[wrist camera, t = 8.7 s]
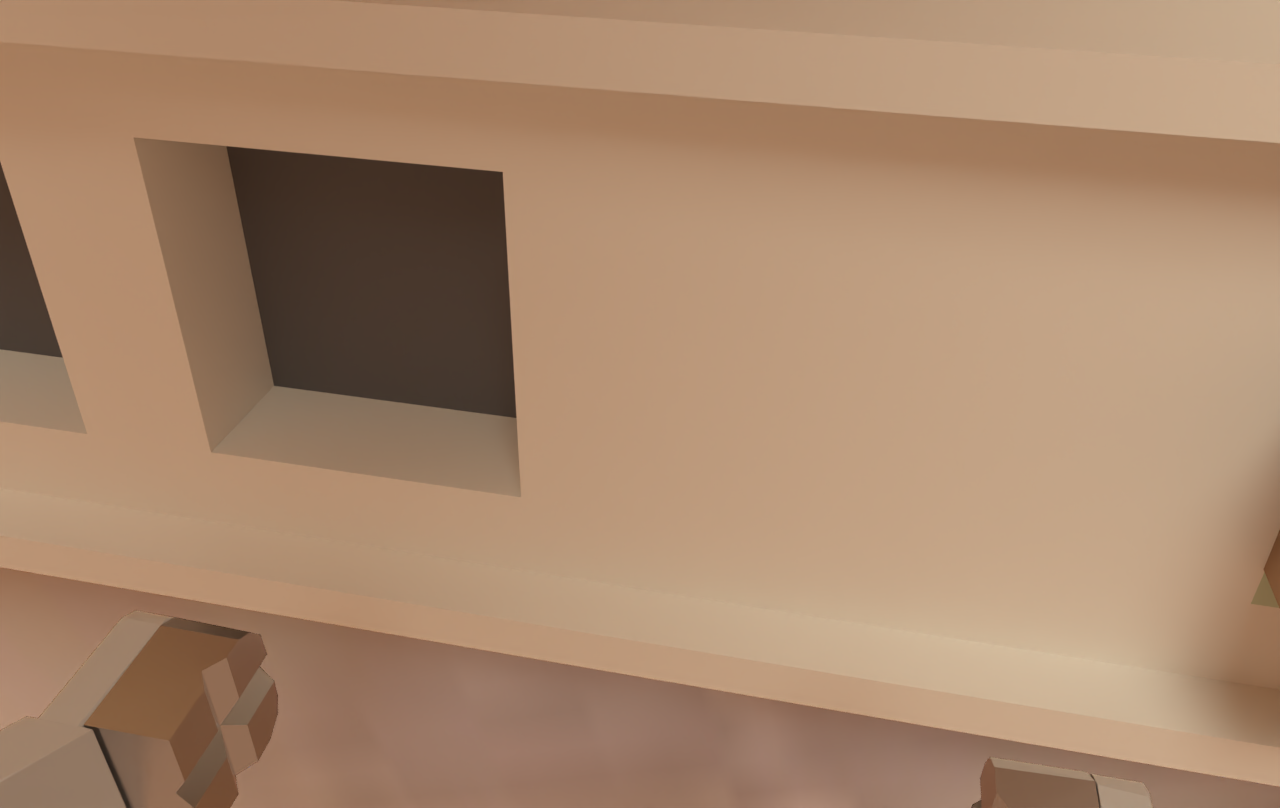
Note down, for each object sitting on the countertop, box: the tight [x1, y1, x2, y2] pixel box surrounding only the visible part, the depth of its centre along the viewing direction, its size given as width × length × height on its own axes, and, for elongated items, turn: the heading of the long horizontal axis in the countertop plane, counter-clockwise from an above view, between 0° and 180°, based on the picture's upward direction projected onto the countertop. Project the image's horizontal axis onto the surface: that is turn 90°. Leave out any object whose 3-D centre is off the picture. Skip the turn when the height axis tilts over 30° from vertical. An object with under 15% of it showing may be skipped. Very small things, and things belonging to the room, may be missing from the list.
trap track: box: [0, 0, 1280, 787], centre depth 20 cm, size 13×40×6 cm, turn 89°
